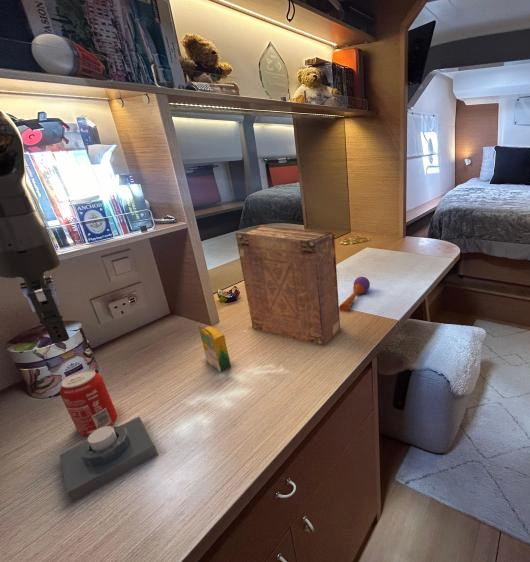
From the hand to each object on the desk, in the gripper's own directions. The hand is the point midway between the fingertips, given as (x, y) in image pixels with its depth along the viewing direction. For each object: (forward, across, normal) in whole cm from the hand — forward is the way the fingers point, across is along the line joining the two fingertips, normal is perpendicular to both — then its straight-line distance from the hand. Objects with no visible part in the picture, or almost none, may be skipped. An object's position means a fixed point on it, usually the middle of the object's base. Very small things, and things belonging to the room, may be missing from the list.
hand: (58, 333), depth 60 cm
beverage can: (+22, 0, 0) cm, 22 cm away
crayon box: (+22, -2, +25) cm, 33 cm away
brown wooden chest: (+22, -2, +48) cm, 53 cm away
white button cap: (+17, +12, 0) cm, 21 cm away
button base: (+22, +12, 0) cm, 25 cm away
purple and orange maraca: (+22, -4, +74) cm, 77 cm away
